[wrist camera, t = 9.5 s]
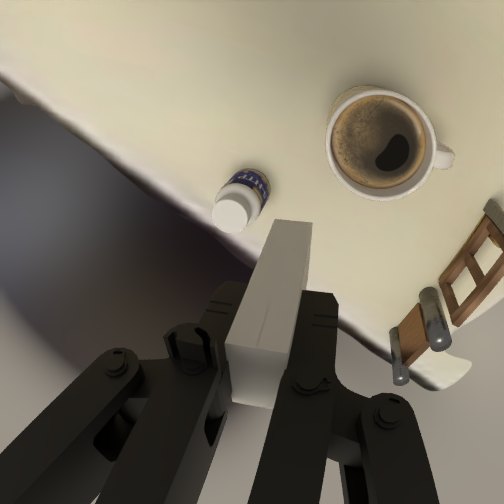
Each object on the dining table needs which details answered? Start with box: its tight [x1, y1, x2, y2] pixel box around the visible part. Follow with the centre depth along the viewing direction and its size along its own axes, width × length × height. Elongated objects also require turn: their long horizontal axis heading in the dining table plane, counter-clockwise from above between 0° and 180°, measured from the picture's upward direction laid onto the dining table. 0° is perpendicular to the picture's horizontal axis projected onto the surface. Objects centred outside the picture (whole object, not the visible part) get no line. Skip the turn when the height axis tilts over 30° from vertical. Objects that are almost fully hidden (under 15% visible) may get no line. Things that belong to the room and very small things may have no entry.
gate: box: [438, 216, 504, 327], centre depth 33 cm, size 12×1×9 cm, turn 161°
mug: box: [325, 85, 455, 201], centre depth 28 cm, size 10×12×11 cm
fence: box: [389, 214, 488, 386], centre depth 37 cm, size 25×3×10 cm, turn 161°
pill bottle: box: [212, 169, 270, 233], centre depth 37 cm, size 5×5×9 cm
